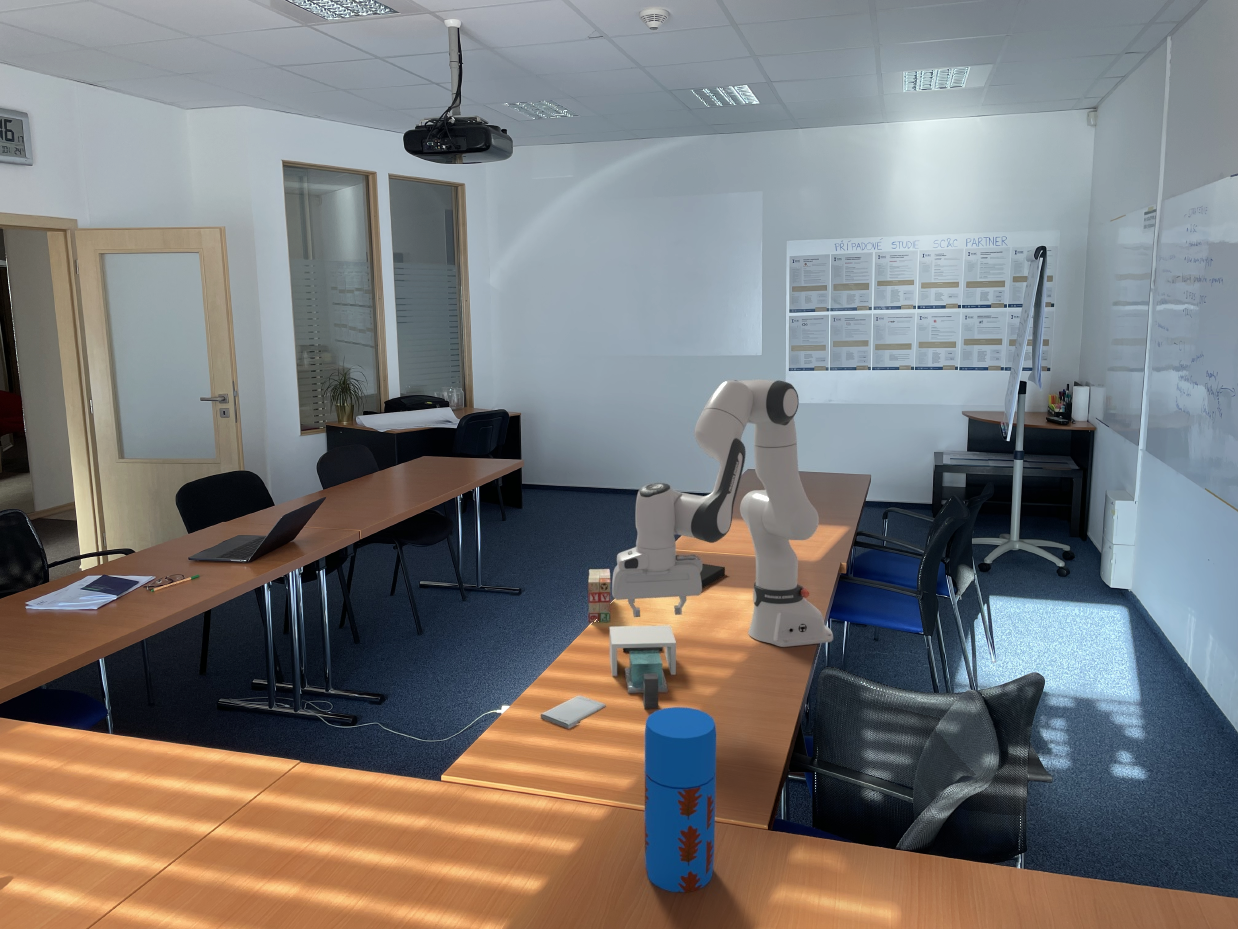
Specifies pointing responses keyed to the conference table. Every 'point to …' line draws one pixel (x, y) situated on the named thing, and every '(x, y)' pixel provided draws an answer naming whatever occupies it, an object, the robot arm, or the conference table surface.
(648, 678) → the teal block with handle
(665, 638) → the tunnel
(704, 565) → the external hard drive
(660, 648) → the tray
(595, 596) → the stack of blocks
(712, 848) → the thermos
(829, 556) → the conference table surface
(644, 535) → the robot arm
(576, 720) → the hard drive
